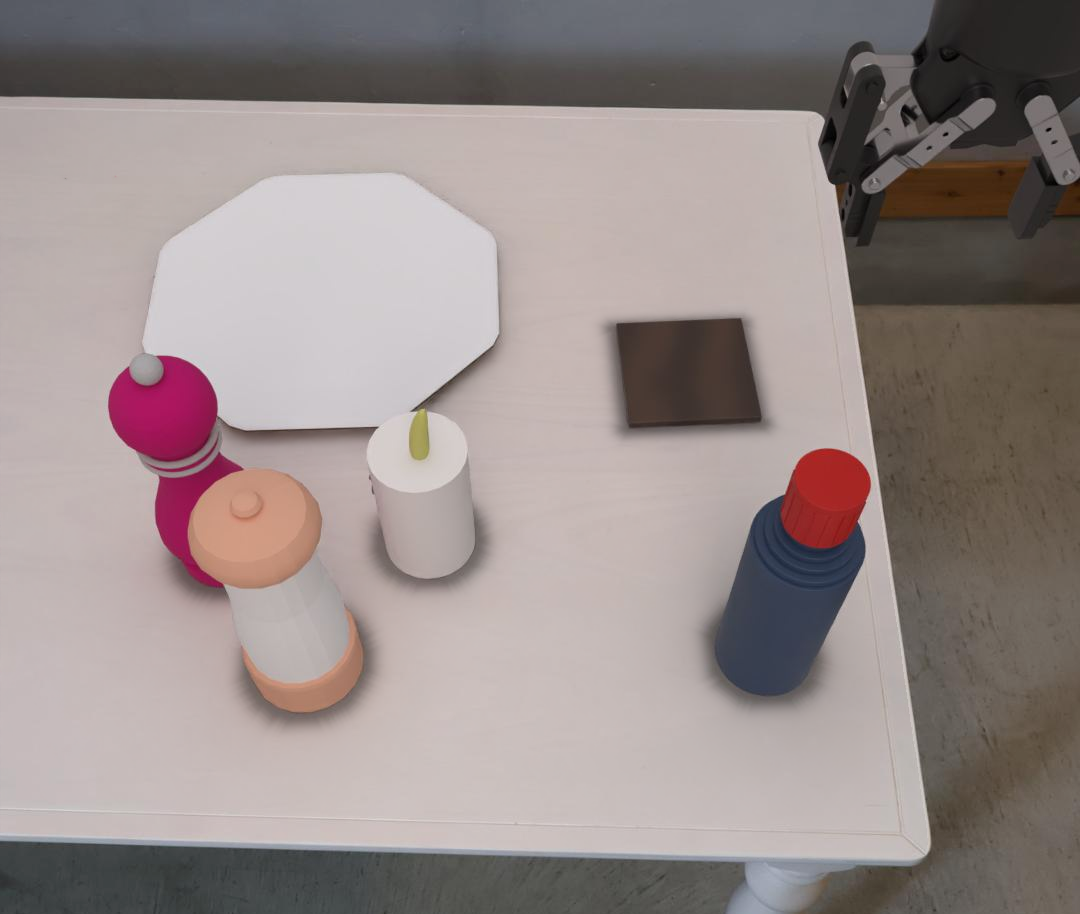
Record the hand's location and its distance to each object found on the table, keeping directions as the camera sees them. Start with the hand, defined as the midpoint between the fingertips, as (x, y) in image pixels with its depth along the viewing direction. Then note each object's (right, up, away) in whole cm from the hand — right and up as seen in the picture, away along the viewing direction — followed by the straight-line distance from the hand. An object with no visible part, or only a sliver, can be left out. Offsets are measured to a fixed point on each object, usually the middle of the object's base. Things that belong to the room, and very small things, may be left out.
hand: (938, 231), depth 58 cm
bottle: (-6, -23, +16) cm, 29 cm away
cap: (-6, -15, +2) cm, 16 cm away
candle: (-29, -16, +20) cm, 39 cm away
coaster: (-9, -3, +28) cm, 30 cm away
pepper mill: (-42, -17, +20) cm, 50 cm away
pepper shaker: (-36, -24, +15) cm, 46 cm away
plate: (-38, +3, +32) cm, 50 cm away
